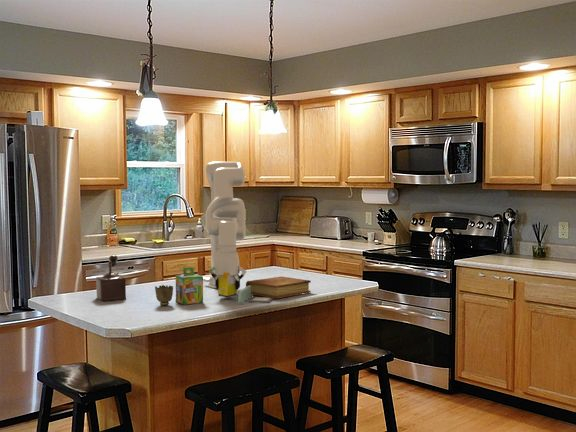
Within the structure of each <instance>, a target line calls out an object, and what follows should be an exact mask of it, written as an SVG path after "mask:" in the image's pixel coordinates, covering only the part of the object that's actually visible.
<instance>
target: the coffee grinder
mask: <svg viewBox="0 0 576 432" xmlns="http://www.w3.org/2000/svg"><path fill="white" fill-rule="evenodd" d="M118 259H119V258H118V255H113V254H112V255H110V256H109V258H108V265H106V266H105V267H106V269H107V268H108V269H109V271H108V273H105V274H103V276H97V277H95V284H96V286H95V287H96V288H95V289H96V299H97V300H99V301H100V302H113V301H122V300H127V291H126V290H127V289H126V288H127V285H126V281H127V280H126V278H125V277H123V275H121V274H119V273H120V272H118V271H117V273H116V272H113V271H112V267H116V266H118V264H117V262H118Z"/></svg>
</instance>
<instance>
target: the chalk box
mask: <svg viewBox="0 0 576 432" xmlns="http://www.w3.org/2000/svg"><path fill="white" fill-rule="evenodd" d="M187 271H190V273H189V272H187ZM194 271H195V270H194V267H192V266H189V267H183V268H182V272H183V273H182V274H176V275H175V303H178V304H181V305H183V306H186V305H196V304H204V281H203V278H204V276H203V275H200V274H196V273H195V272H194Z"/></svg>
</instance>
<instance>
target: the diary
mask: <svg viewBox="0 0 576 432" xmlns="http://www.w3.org/2000/svg"><path fill="white" fill-rule="evenodd" d="M310 284H311V280H308V279H303V278H294V277H288V276H275V277H269V278H267V277H266V278H263V279H262V278H261V279H254V280H253V279H252V280H246V282H245V287H247V286H248V285H251V295H253V296H258V297H270V298H274V299H281V298H288V297H293V295H294V296H299V295H298V294H300V295H303V294H302V293H306V292H310V293H311V290H310V289H309V288H310V287H309V285H310ZM306 294H307V293H306Z"/></svg>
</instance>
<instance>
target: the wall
mask: <svg viewBox="0 0 576 432" xmlns="http://www.w3.org/2000/svg"><path fill="white" fill-rule="evenodd" d="M237 296H238V299H237V300H238V301H236V303H235V304H236V305H245V302H246V301H247V300H249V299H250V298H253V297H254V295H253V294H251V285H248V286H247V287H246V286H245V287H244V288H242V289H240V290H238V291H237ZM252 296H253V297H252ZM249 297H250V298H249ZM248 298H249V299H248ZM245 300H246V301H245Z"/></svg>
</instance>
